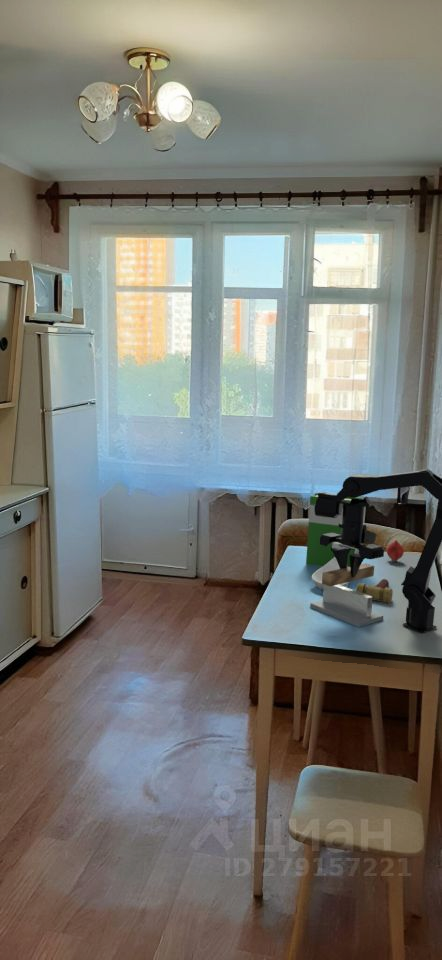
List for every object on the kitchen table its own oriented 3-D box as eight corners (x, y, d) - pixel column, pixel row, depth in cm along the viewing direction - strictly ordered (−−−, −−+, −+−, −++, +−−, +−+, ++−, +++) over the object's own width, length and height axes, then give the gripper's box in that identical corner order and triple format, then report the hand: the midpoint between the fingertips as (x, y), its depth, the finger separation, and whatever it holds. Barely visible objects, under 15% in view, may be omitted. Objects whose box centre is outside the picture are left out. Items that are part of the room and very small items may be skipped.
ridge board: (383, 619, 195) (383, 615, 194) (358, 627, 188) (359, 622, 188) (334, 600, 208) (334, 597, 208) (310, 607, 202) (310, 603, 202)
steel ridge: (371, 617, 193) (372, 596, 192) (366, 618, 191) (367, 598, 191) (327, 600, 205) (328, 581, 204) (322, 601, 204) (324, 582, 203)
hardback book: (306, 564, 245) (310, 496, 241) (311, 559, 252) (315, 492, 248) (356, 571, 239) (362, 501, 235) (361, 566, 246) (366, 498, 242)
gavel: (371, 571, 230) (403, 576, 226) (370, 585, 230) (401, 590, 226) (356, 584, 211) (390, 590, 207) (355, 599, 211) (388, 605, 207)
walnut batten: (330, 586, 190) (330, 575, 189) (321, 583, 192) (322, 572, 192) (373, 576, 201) (374, 565, 201) (365, 573, 203) (366, 563, 203)
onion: (382, 559, 256) (384, 537, 254) (397, 558, 257) (398, 537, 256) (391, 564, 250) (393, 542, 249) (405, 563, 252) (407, 541, 251)
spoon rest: (345, 597, 213) (347, 574, 211) (307, 592, 216) (308, 569, 215) (357, 576, 235) (359, 555, 234) (322, 571, 238) (324, 550, 237)
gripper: (399, 524, 192) (394, 579, 194) (346, 511, 206) (342, 563, 209) (372, 529, 185) (367, 586, 187) (319, 515, 199) (316, 568, 202)
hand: (348, 575), depth 197 cm, fingers closed on walnut batten, 3 cm apart
